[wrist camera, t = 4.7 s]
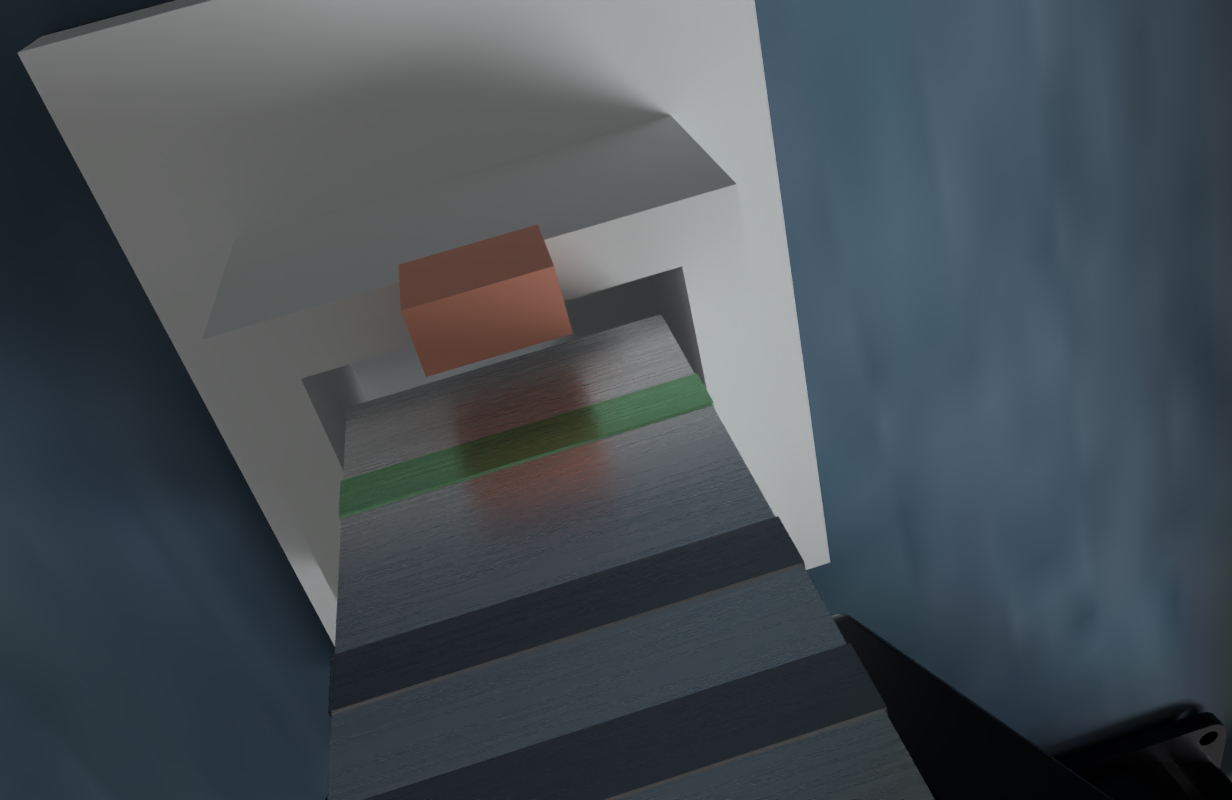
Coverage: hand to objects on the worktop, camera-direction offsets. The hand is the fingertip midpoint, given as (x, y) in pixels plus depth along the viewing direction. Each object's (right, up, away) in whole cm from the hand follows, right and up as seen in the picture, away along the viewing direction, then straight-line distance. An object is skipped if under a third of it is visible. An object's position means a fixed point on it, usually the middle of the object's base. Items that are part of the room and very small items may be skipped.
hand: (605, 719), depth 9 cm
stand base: (-2, +4, +7) cm, 8 cm away
